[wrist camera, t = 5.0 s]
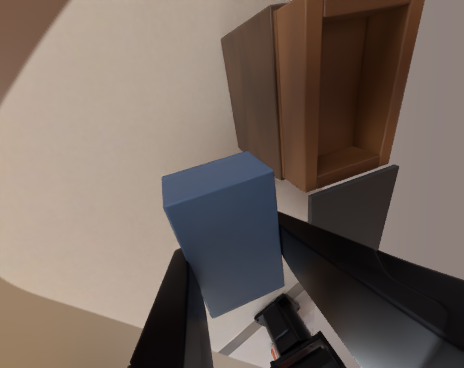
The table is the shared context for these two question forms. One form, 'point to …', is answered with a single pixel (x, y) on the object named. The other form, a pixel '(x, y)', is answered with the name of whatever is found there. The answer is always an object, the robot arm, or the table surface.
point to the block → (227, 228)
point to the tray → (341, 84)
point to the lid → (355, 206)
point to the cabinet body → (255, 87)
